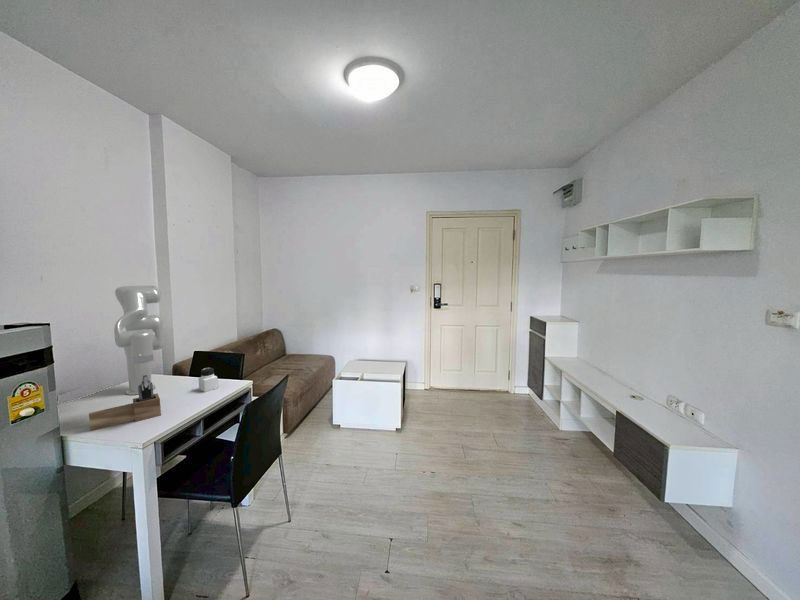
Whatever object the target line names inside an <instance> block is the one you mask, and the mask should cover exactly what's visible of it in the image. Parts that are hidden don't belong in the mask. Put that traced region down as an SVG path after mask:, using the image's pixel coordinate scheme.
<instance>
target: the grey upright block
mask: <svg viewBox="0 0 800 600" xmlns="http://www.w3.org/2000/svg"><path fill="white" fill-rule="evenodd" d="M153 385H154V384H153V382H152V381H151V383H150V388H151V397H150V398H146V399H142V391H141V390H142V385H139V386H138V394H137V395H138V398H139V402H141V401H146V400H150V399H154V397H153V394H154V389H153Z"/></svg>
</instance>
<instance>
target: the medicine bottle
mask: <svg viewBox="0 0 800 600" xmlns="http://www.w3.org/2000/svg"><path fill="white" fill-rule="evenodd" d="M214 370H215V369H214V368H213V367H205V368H203V369H201V370H200V373H201V376H200V377H198V390H199V391H200V392H204V393H207V392H210V391H211V392H212V391H213V390H217V389H218V388H219V381H218V379H219V378H218V376H217V375H215V371H214Z"/></svg>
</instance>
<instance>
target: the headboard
mask: <svg viewBox="0 0 800 600" xmlns="http://www.w3.org/2000/svg"><path fill="white" fill-rule="evenodd" d="M153 397H154V399H150V400H146V401H141V402H139V397H134V398H132V402H131V403H128V404H127V403H126V404H123V405H120V406H119V405H118V406H115V407H111V408H109V407H108V408H105V409H101V410H97V411H92V412H89V413H88V418H89V419H88V420H89V429H90V432H92V431H93V432H94V431H96V430H100V429H103V428H107V427H111V426H115V425H120V424H124V423H127V422H132V421H135V423H137V422H142V421H145V420H148V419H153V418H156V417H160V416H162V410H161V408H162V407H161V398H160V396H159V393H158V392H157V393H153Z"/></svg>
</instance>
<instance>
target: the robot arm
mask: <svg viewBox="0 0 800 600" xmlns="http://www.w3.org/2000/svg"><path fill="white" fill-rule="evenodd" d="M114 294H115V298H116V300H117V301H118V303H119V304H120V305H121V307H122V310H123V315H122V316H121V317H120V318H119V319H117V321H116V322H115V324H114V327H113V329H114V331H113V332H114V343H115V345H116V346H117V347H118V348H120V349H121V348H123V349H124V352H125V353H124V354H125V358H126V364H127V365H126V366H127V378H128V389H127V390H126V391H125V394H126V395H130V396H135V395H139V394H138V386H139V385H142V390H141V391H142V399H146V398H150V397H151V388H150V383H151V382H152V365H151V363H152V362H154V359H155V358H154V351H157V350H161V349H163V348H164V346H165V338H164V328H163V320H162V318H161V316H159V315H158V314H151V315H149V310H148V304H158V303H159V302H160V301H161V299H162V298H161V292H160V289H159V288H158V287H157V286H156V285H126V286H119V287H117V288H115V291H114ZM124 328H125V330H124V331H123V329H124ZM152 385H153V390H155V388H156V385H154V384H152Z"/></svg>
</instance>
